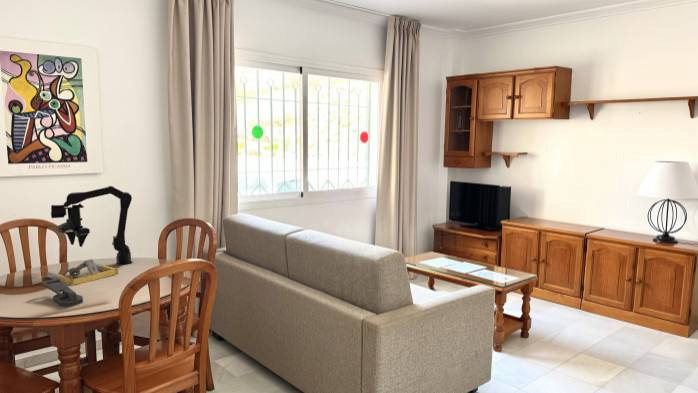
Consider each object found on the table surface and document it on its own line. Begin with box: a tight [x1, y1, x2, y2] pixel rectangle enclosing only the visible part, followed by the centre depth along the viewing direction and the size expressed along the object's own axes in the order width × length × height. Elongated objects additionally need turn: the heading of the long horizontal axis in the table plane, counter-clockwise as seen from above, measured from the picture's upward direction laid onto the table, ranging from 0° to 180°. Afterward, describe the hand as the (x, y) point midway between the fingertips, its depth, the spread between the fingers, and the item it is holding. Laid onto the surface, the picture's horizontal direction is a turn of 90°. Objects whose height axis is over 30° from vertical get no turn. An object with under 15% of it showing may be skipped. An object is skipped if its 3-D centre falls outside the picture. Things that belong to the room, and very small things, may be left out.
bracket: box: [60, 259, 100, 276], centre depth 244 cm, size 10×14×10 cm
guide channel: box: [46, 262, 119, 286], centre depth 247 cm, size 23×25×2 cm
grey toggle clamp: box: [40, 278, 84, 308], centre depth 210 cm, size 9×7×25 cm
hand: (76, 245), depth 258 cm, fingers open, 9 cm apart
